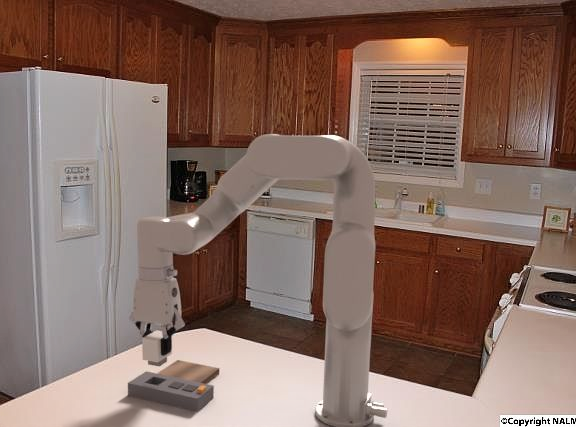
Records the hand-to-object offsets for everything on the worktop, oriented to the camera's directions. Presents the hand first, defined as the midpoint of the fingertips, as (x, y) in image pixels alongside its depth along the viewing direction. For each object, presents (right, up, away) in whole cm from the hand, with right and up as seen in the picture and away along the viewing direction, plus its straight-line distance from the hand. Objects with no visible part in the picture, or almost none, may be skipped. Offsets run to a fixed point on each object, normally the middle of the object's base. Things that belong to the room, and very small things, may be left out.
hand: (157, 351), depth 129 cm
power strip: (+3, -10, 0) cm, 11 cm away
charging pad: (+5, -9, +10) cm, 15 cm away
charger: (0, -3, 0) cm, 3 cm away
